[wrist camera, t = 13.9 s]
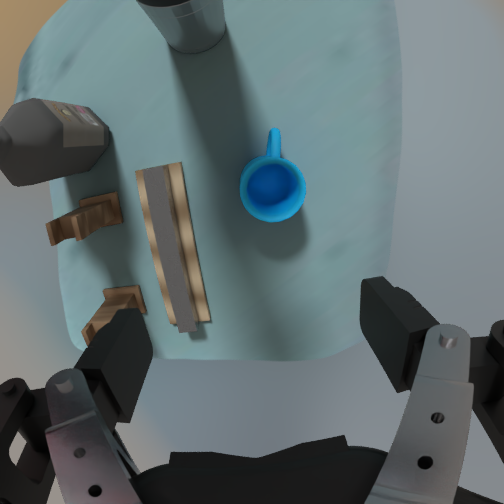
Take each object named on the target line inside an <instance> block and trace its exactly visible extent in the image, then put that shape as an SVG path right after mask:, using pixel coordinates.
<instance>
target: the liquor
mask: <svg viewBox="0 0 504 504" xmlns="http://www.w3.org/2000/svg"><path fill="white" fill-rule="evenodd" d="M108 146H109V127H108V126H107V125H106V124H105V123H104V122H103V121H102V120H101V119H100V118H99V117H98V116H97V115H96V114H95V113H94V112H93V111H92V110H91V109H90V108H89V107H84V106H78V105H73V104H67V103H62V102H56V101H49V100H43V99H36V98H32V99H28V100H25V101H22V102H19V103H16V104H14V105H12V106H11V107H10V109H9V110H8V112H7V113H6V115H5V116H4V118H3V119H2V121H1V122H0V170H1V171H2V172H3V173H4V175H5V176H6V177H7V179H8V180H9V181H10V182H11V184H12V185H14V186H17V187H20V186H27V185H34V184H37V183H41V182H45V181H49V180H53V179H57V178H61V177H65V176H69V175H73V174H77V173H82V172H86V171H89V170H90V169H91V168H92V166H93V165H94V164H95V162H96V161H97V160H98V158H99V157H100V156H101V154H102V153H103V152H104V151H105V149H106V148H107V147H108Z"/></svg>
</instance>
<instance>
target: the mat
mask: <svg viewBox="0 0 504 504" xmlns="http://www.w3.org/2000/svg"><path fill="white" fill-rule="evenodd" d="M167 165H168V170H169V176H170V182H171V188H172V194H173V199H174V205H175V210H176V216H177V221H178V226H179V232H180V237H181V242H182V247H183V252H184V256H185V261H186V266H187V270H188V275H189V280H190V284H191V289H192V293H193V297H194V302H195V306H196V310H197V314H198V318H199V321H209V320H210V313H209V309H208V304H207V299H206V295H205V290H204V285H203V280H202V275H201V270H200V265H199V260H198V255H197V250H196V245H195V239H194V234H193V229H192V223H191V218H190V212H189V206H188V200H187V194H186V188H185V182H184V176H183V170H182V163H181V162H178V163H173V164H167ZM162 166H163V165H162ZM157 167H158V166H157ZM152 168H153V167H152ZM147 169H148V168H147ZM143 170H144V169H143ZM135 173H136V179H137V184H138V190H139V195H140V200H141V206H142V211H143V216H144V220H145V225H146V230H147V234H148V239H149V243H150V248H151V252H152V256H153V261H154V265H155V269H156V273H157V277H158V281H159V284H160V288H161V292H162V296H163V299H164V303H165V307H166V310H167V314H168V317H169V321H170V324H177V323H176V319H175V315H174V312H173V308H172V304H171V301H170V297H169V293H168V289H167V285H166V281H165V277H164V273H163V269H162V265H161V261H160V257H159V252H158V248H157V243H156V239H155V234H154V229H153V225H152V220H151V215H150V210H149V205H148V199H147V194H146V189H145V183H144V177H143V171H142V170H138V171H135Z"/></svg>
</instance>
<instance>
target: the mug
mask: <svg viewBox="0 0 504 504" xmlns="http://www.w3.org/2000/svg"><path fill="white" fill-rule="evenodd" d="M280 153H281V135H280V131H279V129H277V128H272V129H271V130H270V132H269V137H268V143H267V151H266V155H264V156H259V157H257V158H254V159H252V160H251V161H250V162H249V163H248V164H246V166H245V168H244V169H243V171H242V173H241V177H240V198H241V200H242V202H243V205H244V207H245V208H246V209H247V211H248V212H249V213H250V214H251V215H252V216H254V217H256V218H257V219H259V220H262V221H266V222H280V221H283V220H285V219H288V218H290V217H291V216H293V215H294V214H295V213H296V212H297V211H298V210H299V209H300V207H301V205H302V204H303V202H304V198H305V195H306V183H305V180H304V177H303V175H302V173H301V171H300V170H299V169H298V168H297V167H296V165H294V164H293V163H291V162H290V161H288V160H287V159H283V158H280Z"/></svg>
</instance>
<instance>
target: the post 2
mask: <svg viewBox="0 0 504 504" xmlns="http://www.w3.org/2000/svg"><path fill="white" fill-rule="evenodd" d="M103 294H104V297H105V301H104V303H103V304H102V305H101V306H100V308H99V309H98V310H97V312H96V313H95V314H94V316H93V317H92V318H91V320H90V321H89V322H88V323H87V324H86V326H85V327H84V328H83V330H82V331H81V333H82V335H83V337H84V340H85V342H86V344H87V346H88V345H89V343H90V342H91V341H92V339H93V337H94V336H95V334H96V333H97V331H98V330H99V329H100V328H102V327H103V326H104V325H105V324H107V323H109V322H110V321H111V319H112V318H113V316H114V314H115V313H116V311H117V310H118V309H126V308H139V310H140V311H141V313H146V311H147V310H146V306H145V303H144V300H143V296H142V293H141V289H140V286H139V285H135V286H126V287H117V288H108V289H104V290H103Z"/></svg>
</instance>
